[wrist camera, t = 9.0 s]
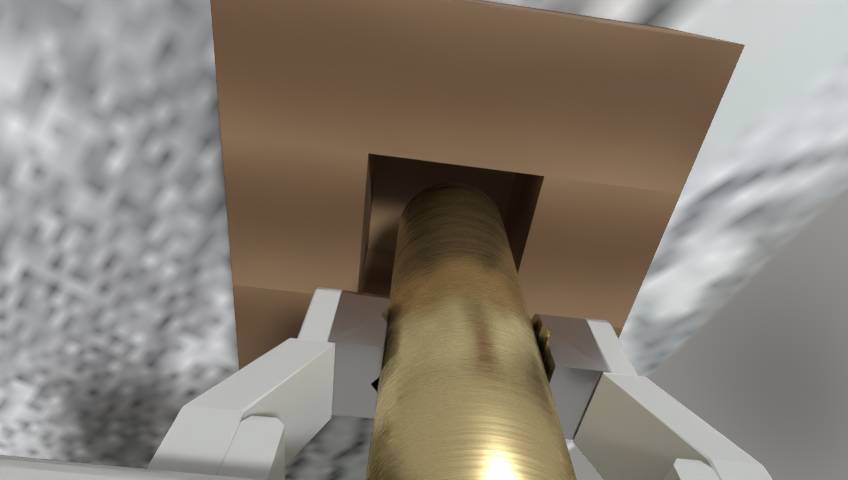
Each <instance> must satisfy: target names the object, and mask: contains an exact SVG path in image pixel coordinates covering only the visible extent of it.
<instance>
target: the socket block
mask: <svg viewBox="0 0 848 480" xmlns="http://www.w3.org/2000/svg"><path fill="white" fill-rule="evenodd" d="M210 2H211V15H212V27H213V40H214V53H215V66H216V78H217V91H218V104H219V116H220V129H221V142H222V155H223V167H224V180H225V193H226V205H227V218H228V231H229V244H230V256H231V269H232V282H233V294H234V307H235V320H236V333H237V345H238V358H239V370H240V369H242V368H243V367H245V366H247V365H248V364H250V363H251V362H253V361H254V360H256V359H258V358H259V357H261V356H262V355H264V354H265V353H267V352H269V351H270V350H272V349H273V348H275V347H276V346H278V345H279V344H281V343H283V342H284V341H286V340H287V339H289V338H295V339H297V338H298V335H299V332H300V330H301V327H302V324H303V322H304V319H305V316H306V314H307V311H308V308H309V306H310V303H311V300H312V297H313V295H314V292H315V290H316V289H317V288H318V287H322V288H330V289H339V290H342V291H343V290H347V291H354V292H362V293H369V294H376V295H383V296H390V290H391V283H392V275H393V267H394V260H395V252H396V244H397V236H398V229H399V221H400V218H401V215H402V212H403V210H404V208H405V207H406V205H407V204H408V203H409V201H410V200H411V199H412V198H413V197H414V196H415V195H417V194H418V193H419V192H421V191H422V190H424V189H426V188H428V187H431V186H434V185H437V184H441V183H462V184H466V185H470V186H472V187H475V188H477V189H479V190H481V191H482V192H484V193H485V194H486V195H488V196H489V197H490V198H491V199H492V201H493V202H494V203H495V205H496V206H497V208H498V210H499V212H500V215H501V218H502V221H503V225H504V228H505V232H506V235H507V239H508V242H509V246H510V249H511V253H512V256H513V260H514V263H515V267H516V270H517V274H518V277H519V281H520V284H521V288H522V291H523V295H524V298H525V302H526V305H527V309H528V312H529V316H530V319H532V318H533V316H534V314H543V315H552V316H562V317H571V318H580V319H582V318H588V319H600V320H606V321H608V322H609V323H610V324H611V326H612V328H613V329H614V331H615V333H616V335H617V337H618V338H619V336H620V334H621V331H622V329H623V327H624V324H625V322H626V320H627V317H628V315H629V313H630V310H631V308H632V306H633V303H634V301H635V299H636V296H637V294H638V292H639V289H640V287H641V285H642V283H643V280H644V278H645V276H646V273H647V271H648V269H649V266H650V264H651V262H652V259H653V257H654V255H655V252H656V250H657V248H658V245H659V243H660V241H661V238H662V236H663V234H664V231H665V229H666V227H667V224H668V222H669V220H670V217H671V215H672V213H673V211H674V208H675V206H676V204H677V201H678V199H679V197H680V194H681V192H682V190H683V187H684V185H685V183H686V180H687V178H688V176H689V173H690V171H691V169H692V166H693V164H694V162H695V159H696V157H697V155H698V152H699V150H700V148H701V145H702V143H703V141H704V139H705V136H706V134H707V132H708V129H709V127H710V125H711V122H712V120H713V118H714V115H715V113H716V111H717V108H718V106H719V104H720V101H721V99H722V97H723V94H724V92H725V90H726V87H727V85H728V83H729V80H730V78H731V76H732V73H733V71H734V69H735V67H736V64H737V62H738V60H739V57H740V55H741V53H742V50H743V48H744V46H745V45H742V44H738V43H733V42H729V41H724V40H720V39H715V38H710V37H706V36H701V35H697V34H692V33H687V32H683V31H678V30H674V29H669V28H663V27H657V26H650V25H643V24H637V23H630V22H623V21H616V20H610V19H603V18H596V17H590V16H583V15H576V14H570V13H563V12H556V11H549V10H543V9H536V8H529V7H523V6H516V5H509V4H503V3H496V2H489V1H482V0H210Z"/></svg>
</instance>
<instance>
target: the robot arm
mask: <svg viewBox="0 0 848 480" xmlns="http://www.w3.org/2000/svg"><path fill="white" fill-rule="evenodd" d="M390 298H391V296H383V295H376V294H369V293H362V292H354V291H347V290H343V291H342V290H339V289H330V288H322V287H318V288H317V289H316V290H315V292H314V295H313V297H312V300H311V303H310V306H309V308H308V311H307V314H306V316H305V319H304V322H303V324H302V327H301V330H300V332H299V335H298V338H297V339H295V338H289V339H287V340H286V341H284V342H283V343H281V344H279V345H278V346H276V347H275V348H273V349H272V350H270V351H269V352H267V353H265V354H264V355H262V356H261V357H259V358H258V359H256V360H254V361H253V362H251V363H250V364H248V365H247V366H245V367H243V368H242V369H240V370H239V371H237V372H236V373H234V374H232V375H231V376H229V377H228V378H226V379H225V380H223V381H221V382H220V383H218V384H217V385H215V386H214V387H212V388H211V389H209V390H207V391H206V392H204V393H203V394H201V395H200V396H198V397H196V398H195V399H193V400H192V401H190V402H189V403H187V404H185V405H184V406H183V407H182V409H181V410H180V412H179V414H178V415H177V417H176V419H175V421H174V422H173V424H172V426H171V427H170V429H169V431H168V433H167V434H166V436H165V438H164V439H163V441H162V443H161V445H160V446H159V448H158V450H157V451H156V453H155V455H154V457H153V458H152V460H151V462H150V463H149V465H148V467H147V469H143V468H132V467H121V466H111V465H100V464H89V463H79V462H68V461H57V460H47V459H36V458H26V457H15V456H4V455H0V480H285V467H286V466H287V464H288V463H289V462H290V461H291V460H292V459H293V458H294V457H295V456H296V455H297V454H298V453H299V452H300V451H301V450H302V449H303V447H304V446H305V445H306V444H307V443H308V442H309V441H310V440H311V439H312V438H313V437H314V436H315V435H316V434H317V433H318V432H319V430H320V429H321V428H322V427H323V426H324V425H325V424H326V423H327V422H328V421H329V420H330V419H331V416H332V415H335V416H349V417H363V418H374V413H375V405H376V398H377V390H378V382H379V377H380V374H381V369H382V362H383V354H384V347H385V338H386V330H387V323H388V315H389V306H390ZM531 323H532V326H533V330H534V333H535V337H536V340H537V344H538V347H539V351H540V354H541V357H542V361H543V364H544V368H545V371H546V375H547V378H548V382H549V385H550V389H551V392H552V396H553V399H554V403H555V406H556V410H557V413H558V417H559V420H560V424H561V427H562V431H563V434H564V438H565V439H571V440H574V441H573V442H574V444H575V445H576V446H577V447H578V448H579V450H580V451H581V452H582V453H583V455H584V456H585V457H586V458H587V459H588V461H589V462H590V463H591V464H592V465H593V467H594V468H595V469H596V470H597V472H598V473H599V474H600V475H601V476H602V478H603V479H604V480H772V478H771V477H770V475H769V474H768V472H767V471H766V469H765V468H764V466H763V465H761V464H760V463H759V462H758V461H756V460H755V459H754V458H752V457H751V456H750V455H748V454H747V453H746V452H744V451H743V450H742V449H740V448H739V447H738V446H736V445H735V444H734V443H732V442H731V441H730V440H728V439H727V438H726V437H724V436H723V435H722V434H720V433H719V432H718V431H716V430H715V429H714V428H712V427H711V426H710V425H708V424H707V423H706V422H704V421H703V420H702V419H700V418H699V417H698V416H697V415H695V414H694V413H692V412H691V411H690V410H689V409H687V408H686V407H684V406H683V405H682V404H680V403H679V402H678V401H677V400H675V399H674V398H673V397H671V396H670V395H669V394H667V393H666V392H665V391H663V390H662V389H661V388H659V387H658V386H657V385H655V384H654V383H653V382H651V381H650V380H649V379H647V378H646V377H642V376H638V375H637V373H636V371H635V370H634V368H633V366H632V364H631V362H630V360H629V358H628V356H627V354H626V352H625V350H624V349H623V347H622V345H621V343H620V341H619V339H618V337H617V335H616V333H615V331H614V329H613V328H612V326H611V324H610V323H609V322H608V321H606V320H600V319H588V318H582V319H580V318H571V317H562V316H552V315H543V314H534V316H533V318H532V319H531Z"/></svg>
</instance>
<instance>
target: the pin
mask: <svg viewBox="0 0 848 480" xmlns="http://www.w3.org/2000/svg"><path fill="white" fill-rule="evenodd" d="M390 296H391V298H390V306H389V315H388V323H387V330H386V338H385V347H384V354H383V362H382V369H381V374H380V377H379V382H378V390H377V398H376V405H375V413H374V421H373V428H372V436H371V444H370V451H369V459H368V467H367V474H366V480H576V476H575V473H574V469H573V466H572V462H571V459H570V455H569V452H568V448H567V445H566V441H565V438H564V434H563V431H562V427H561V424H560V420H559V417H558V413H557V410H556V406H555V403H554V399H553V396H552V392H551V389H550V385H549V382H548V378H547V375H546V371H545V368H544V364H543V361H542V357H541V354H540V351H539V347H538V344H537V340H536V337H535V333H534V330H533V326H532V323H531V319H530V316H529V312H528V309H527V305H526V302H525V298H524V295H523V291H522V288H521V284H520V281H519V277H518V274H517V270H516V267H515V263H514V260H513V256H512V253H511V249H510V246H509V242H508V239H507V235H506V232H505V228H504V225H503V221H502V218H501V215H500V212H499V210H498V208H497V206H496V205H495V203H494V202H493V201H492V199H491V198H490V197H489V196H488V195H486V194H485V193H484V192H482V191H481V190H479V189H477V188H475V187H472V186H470V185H466V184H462V183H441V184H437V185H434V186H431V187H428V188H426V189H424V190H422V191H421V192H419V193H418V194H417V195H415V196H414V197H413V198H412V199H411V200H410V201H409V203H408V204H407V205H406V207H405V208H404V210H403V212H402V215H401V218H400V221H399V229H398V236H397V244H396V252H395V260H394V267H393V275H392V283H391V290H390Z"/></svg>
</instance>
